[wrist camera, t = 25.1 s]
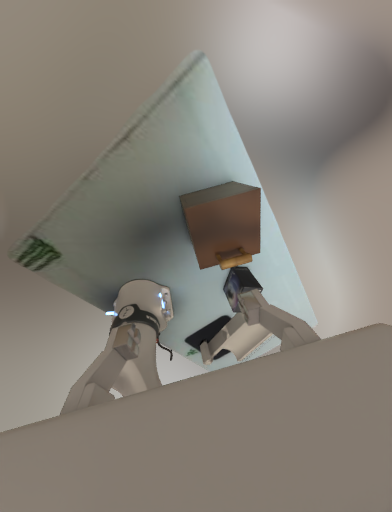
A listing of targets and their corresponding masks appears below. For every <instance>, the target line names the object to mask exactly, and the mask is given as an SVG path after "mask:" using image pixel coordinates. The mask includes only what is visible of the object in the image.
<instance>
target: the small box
mask: <svg viewBox="0 0 392 512" xmlns="http://www.w3.org/2000/svg"><path fill="white" fill-rule="evenodd" d="M254 289H258V290H259V292H260V293H261V292H262V290H263V288H262V287H261V285H260V284H259V282H258V281H257V280H256V278H255V277H254V276H253V274H252V273H251V272H250V270H249V269H248V268H247V267H231V270H230V273H229V275H228V278H227V281H226V283H225V286H224V289H223V290H224V292H225V294H226V297H227V299H228V301H229V304H230V306H231V308H232V311H233V312H237V313H241V311H240V308H239V305H238V301H239V299H238V294H240V293H243V292H246V291H250V290H254Z"/></svg>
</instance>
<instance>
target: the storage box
mask: <svg viewBox="0 0 392 512" xmlns="http://www.w3.org/2000/svg"><path fill="white" fill-rule="evenodd" d="M255 188H258V187H254V186H249V185H245V184H241V183H237V182H233V181H232V182H228V183H225V184H221V185H217V186H214V187H210V188H206V189H203V190H199V191H195V192H192V193H188V194H184V195H181V196H179V197H180V201H181V204H182V208H183V212H184V216H185V219H186V223H187V227H188V230H189V234H190V238H191V242H192V245H193V248H194V244H193V241H192V237H191V233H190V229H189V225H188V222H187V218H186V214H185V210H184V208H185V207H189V206H193V205H196V204H200V203H204V202H207V201H211V200H215V199H218V198H222V197H226V196H229V195H233V194H237V193H240V192H244V191H248V190H251V189H255ZM194 251H195V248H194ZM195 254H196V252H195ZM196 257H197V256H196ZM197 260H198V259H197Z"/></svg>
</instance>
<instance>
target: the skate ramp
mask: <svg viewBox="0 0 392 512" xmlns="http://www.w3.org/2000/svg"><path fill="white" fill-rule="evenodd" d="M272 334H273V333H271V332H270V331H268V330H267V329H266V328H264V327H263V326H262V325H260V323H259V324H255V325H251V326H248V324H247V322H246V321H245V319H244V314H242V313H237V314H236V315H235V316H234V317H233V318H232V319H231V320H230V321H229V322H228V323H227V324H226V325H225V326H224V327H223V328H222V329H221V330H220V332H219V333H218V334H217V335H216V336H215V337H214V338H213V339H212V340H211V341H210V342H209V343H208V344H207V341H206V342H203V343H202V344H201V345H200V348H201V354H202V359H203V364H207V365H210V364H212V362H213V356H214V355H216V354H217V353H218V352H219V351H220V350H221V349H222V348H223V349H228V350H230V351H232V352H233V353H234V355H235V356H236V358H237V361H241V360H243V359H245V357H246V356H247V355H248V354H250V353H251V352H252V351H253V350H254V349H256V348H257V347H258V346H259V345H260V344H261V343H263V342H264V341H265V340H266V339H267V338H269V337H270V336H271V335H272ZM274 337H275V335H274ZM203 340H204V339H203ZM268 340H269V339H268ZM269 341H270V340H269ZM269 341H268V342H269ZM266 342H267V341H266ZM262 345H263V344H262ZM262 347H263V346H262ZM256 350H257V349H256ZM256 352H257V351H256ZM254 353H255V352H254ZM251 354H252V353H251ZM251 354H250V355H251ZM250 355H249V356H250ZM247 359H248V358H247ZM243 361H244V360H243ZM245 361H246V360H245ZM238 363H239V362H238ZM240 363H241V362H240ZM205 368H207V367H205Z"/></svg>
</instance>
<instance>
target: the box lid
mask: <svg viewBox="0 0 392 512" xmlns="http://www.w3.org/2000/svg"><path fill="white" fill-rule="evenodd" d="M260 202H261V188H255V189H251V190H248V191H244V192H240V193H237V194H233V195H229V196H226V197H222V198H218V199H215V200H211V201H207V202H204V203H200V204H196V205H193V206H189V207H185V208H184V210H185V214H186V218H187V222H188V225H189V229H190V233H191V237H192V241H193V244H194V248H195V252H196V256H197V259H198V263H199V267H200V270H201V269H204V268H208V267H212V266H215V265H220V268H221V270H224V269H227V268H231V267H235V266H238V265H242V264H245V263H249V262H252V256H251V255H254V254H258V253H260Z"/></svg>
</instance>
